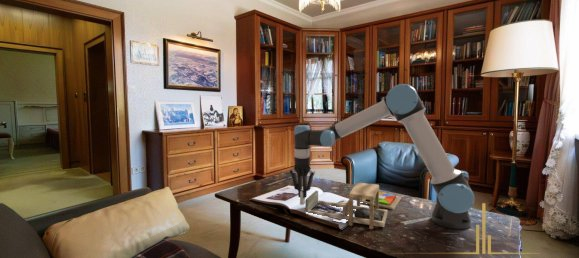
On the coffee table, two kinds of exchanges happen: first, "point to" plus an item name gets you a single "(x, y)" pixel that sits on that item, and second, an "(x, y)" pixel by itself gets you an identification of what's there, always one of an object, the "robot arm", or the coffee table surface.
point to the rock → (366, 214)
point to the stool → (364, 193)
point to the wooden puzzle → (385, 200)
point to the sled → (313, 200)
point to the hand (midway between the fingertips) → (302, 203)
